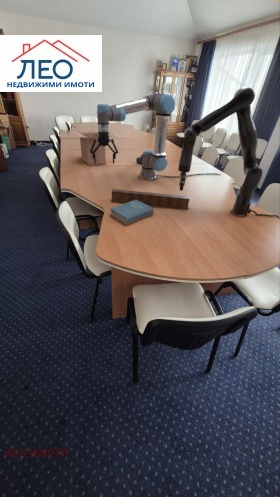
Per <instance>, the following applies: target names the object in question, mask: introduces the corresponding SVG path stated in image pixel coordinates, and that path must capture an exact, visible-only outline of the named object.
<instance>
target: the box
mask: <svg viewBox="0 0 280 497" xmlns="http://www.w3.org/2000/svg"><path fill="white" fill-rule="evenodd" d="M70 133H71V134H72V135H74V136H75V137H77V138H79V144H80V153H81V160H83V162H85V163H86V165H87V166H95V165H97V166H98V165H106V163H107V162H106V158H107V157H106V146H100V147H99V148H98V149H97V151H96V152H95V159H96V164H95V163H94V159H93V157H92V153H90V149H91V147H92V144H93V142H94V138H95V139H98V131H97V132H96V131H95V130H92V129H91V130H77V132H76V131H70ZM113 137H114V136H113V135H111V134H109V138H113ZM98 144H99V142H98V141H97V142H96V143H95V146H94V148H93V150H94V149H95V148H96V146H97V145H98ZM93 150H92V151H93Z"/></svg>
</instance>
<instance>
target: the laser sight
mask: <svg viewBox="0 0 280 497" xmlns="http://www.w3.org/2000/svg"><path fill="white" fill-rule="evenodd" d="M142 158H143V154H140V156H137V157H136V159H135V162H136V164H139V165H142Z"/></svg>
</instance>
